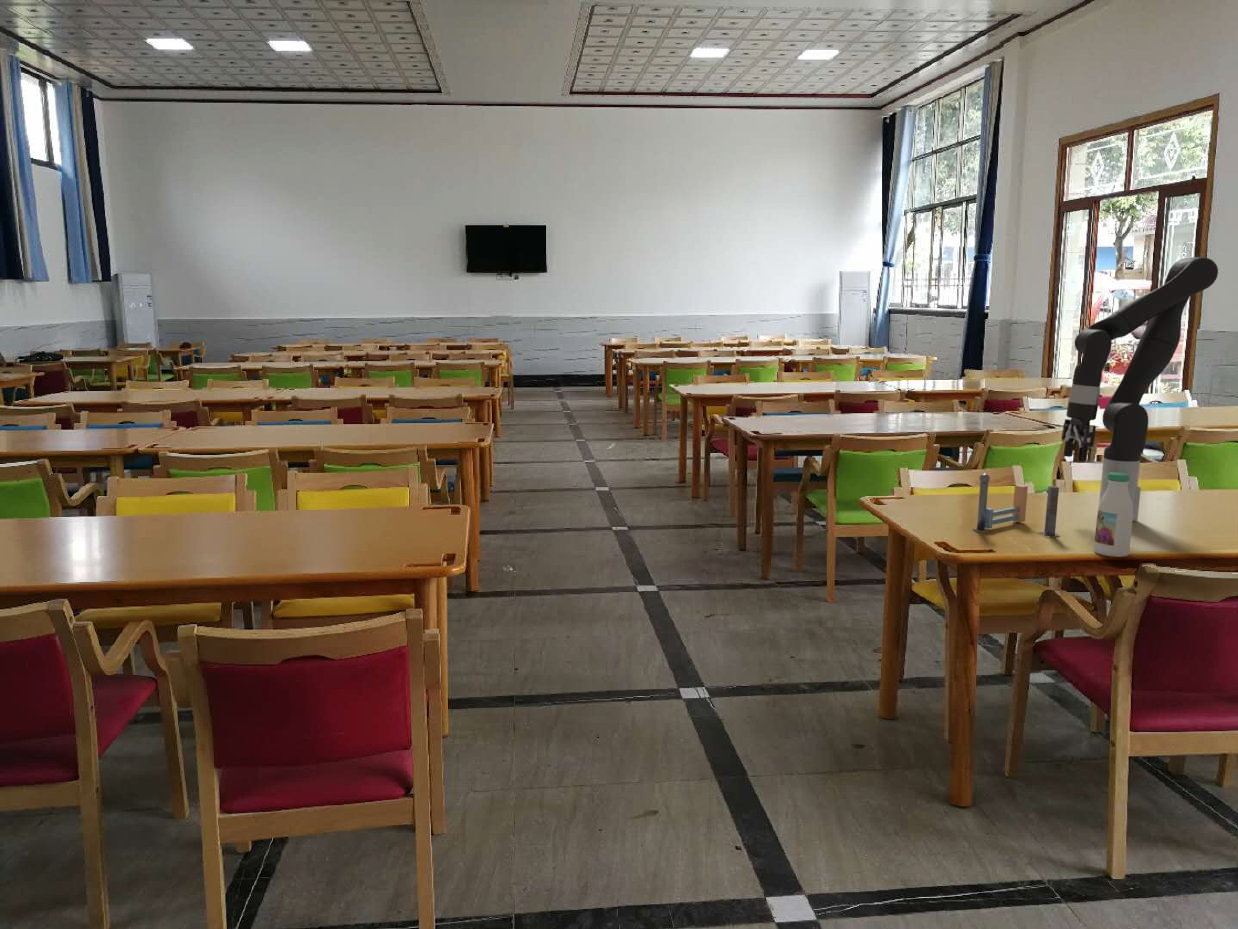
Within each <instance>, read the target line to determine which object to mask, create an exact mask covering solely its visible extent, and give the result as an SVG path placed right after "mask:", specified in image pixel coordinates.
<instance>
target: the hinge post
mask: <svg viewBox="0 0 1238 929" xmlns="http://www.w3.org/2000/svg"><path fill="white" fill-rule="evenodd" d="M978 478H979V482H980V483H979V495H978V496H979V497H978V506H977V507H978V509H977V510H978V511H977V521H976V527H974V528H972V531H973V532H975V533H981V532H987V533H989V531H990V530H989V529H988V528H985V520H986V508H988V507H987V505H988V494H989V493H988V491H989V482H990V480H991V479H990V478H991V477H990V475H989V474H987V473H982V474H980V476H979V477H978ZM981 534H982V533H981Z"/></svg>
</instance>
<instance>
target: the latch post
mask: <svg viewBox="0 0 1238 929" xmlns="http://www.w3.org/2000/svg"><path fill="white" fill-rule="evenodd" d="M1047 486H1048V488H1047V496H1046V497H1047V499H1046V513H1045V519H1044V520H1045V522H1044V531H1039V533H1038V534H1040V535H1041V534H1042V535H1041V536H1043V535H1044V536H1049V537H1048V538H1061V536H1060V534H1058V533H1057V532H1056V528H1057V527H1056V526H1057V515H1058V514H1057V513H1058V504H1059V492H1060V487H1059V486H1058V485H1047ZM1044 536H1043V537H1044Z"/></svg>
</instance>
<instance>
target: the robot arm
mask: <svg viewBox="0 0 1238 929" xmlns="http://www.w3.org/2000/svg"><path fill="white" fill-rule="evenodd" d="M1218 274H1219V268H1218V265H1217V263H1216V262H1215V261H1214V260H1213V259H1211V258H1209V257H1204V256H1203V257H1202V256H1196V257H1183V258H1180V259H1179V260H1176V261H1175V262H1174V263H1173V264H1172V265H1171V267H1170V268H1169V270H1168V273H1167V275H1166V278H1165V281H1164V284H1163V285H1161V286H1159V287H1157V288H1156V289H1153V290H1152V291H1150V292H1148V293H1146V294H1142V295H1141V296H1139V297H1137V298H1135V299H1133V300H1131V301H1129V302H1128V303H1126V304H1124V305H1123V306H1121V307H1120V308H1118V309H1117V310H1116V311H1114V312H1113V313H1111V314H1110V315H1109V316H1107V317H1105V318H1104V319H1103V318H1102V319H1101V320H1099V321H1096V322H1095V323H1093V324H1091V325H1088V326H1087V327H1086V328H1084V329H1082V330H1081V331H1080V332H1079V333H1078V334H1077V336H1076V337H1075V339H1074V347H1075V350H1077V352H1078V353H1080V354H1083V356H1082V359H1081V362H1080V363H1078V364H1077V365H1076V366H1075V368H1074V371H1073V378H1072V384H1071V388H1070V391H1069V397H1068V403H1067V409H1066V414H1065V416H1066V417H1067V419H1066V418H1065V419H1064V422H1063V427H1062V428H1063V429H1062V433H1061V440H1062V441H1063V442H1064V448H1063V449H1064V450H1063V454H1062V455H1063V456H1064V457H1072V456H1073V452H1074V446H1075V442H1076V441H1077V442H1078V452H1077V458H1076V461H1078V462H1083V463H1085V462H1087V458H1088V452H1089V449H1090V448H1093V447H1094V444H1095V437H1096V429H1097V427H1096V426H1097V425H1093V424H1092V425H1091V421H1094V420H1096V419H1097V416H1098V415H1097V414H1098V408H1099V402H1100V397H1101V396H1100V393H1101V392H1100V390H1101V384H1102V376H1103V370H1104V368H1105V367H1106V365H1107V362H1108V359H1109V356H1110V354H1111V351H1112V341H1113V340H1115V339H1119V338H1123V337H1126V336H1128V335H1129V334H1130V333H1133V332H1134V331H1135V330H1137V329H1138V328H1139V327H1141V326H1142V325H1144V324H1145V323H1147V326H1146V327H1145V329H1144V331H1143V333H1142V335H1141V337H1140V339H1139V341H1138V343H1137V346H1136V348H1135V351H1134V353H1133V355H1132V358H1131V360H1130V362H1129V364H1128V366H1127V368H1126V370H1125V372H1124V375H1123V377H1122V379H1121V381H1120V383H1119V385H1118V386H1117V388H1116V389H1115V391H1114V393H1113V394H1112V396H1111V398H1110V400H1109V402H1108V403H1107V404H1106V407H1105V408H1104V409H1103V413H1102V424H1103V426H1104V428H1105V429H1106V430H1107V431H1109V432H1112V437H1111V442H1110V444H1109V445H1108V446H1106V447H1105V448H1104V450H1103V457H1102V458H1103V460H1102V471H1101V480H1100V482H1101V483H1100V489H1099V490H1100V491H1099V501H1098V504H1099V503H1100V500H1101V498H1102V497H1103V495H1104V493H1105V492H1106V490H1107V487H1108V484H1109V482H1108V474H1109V473H1111V472H1120V473H1126V474H1129V475H1130V479H1129V483H1128V492H1129V495H1130V497H1131V500H1132V503H1133V521H1132V522H1136V521H1138V520H1139V519H1138V518H1139V509H1140V502H1141V501H1140V499H1141V490H1142V489H1141V487H1140V486H1139V476H1140V467H1141V458H1142V454H1143V453H1144V451H1145V447H1146V444H1147V443H1146V442H1147V436H1148V430H1149V414H1148V412H1147V410H1146V408H1145V407H1144V406H1142V405H1141V404H1140V403H1141V400H1142V398H1143V396H1144V394H1145V393H1146V390H1147V389H1148V388H1149V386H1150V385H1151V384H1152V383H1153V382H1154V381H1155V380H1156V379H1157V378H1158V377H1159V376H1160V375H1161V374H1162V373H1163V372H1164V371H1165V370H1166V368H1167V367H1168V366H1169V364H1170V362H1171V361H1172V359H1173V357H1174V354H1175V352H1176V350H1177V348H1178V347H1179V344H1180V340H1181V333H1182V316H1183V312H1184V310H1185V306H1186V305H1187V303H1188V301H1189V299H1190V297H1192V296H1194V295H1196V294H1199V293H1200V292H1203V291H1204V290H1206V289H1208V288H1211V286H1212V285H1214V283H1215V282H1216V281H1217V278H1218Z"/></svg>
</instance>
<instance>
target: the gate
mask: <svg viewBox="0 0 1238 929" xmlns="http://www.w3.org/2000/svg"><path fill="white" fill-rule="evenodd" d="M1028 488H1029V487H1028V485H1025V484H1017V485H1014V491H1013V492H1014V493H1013V504H1012V507H1007V508H1003V509H999V510H994V508H990V507H986V520H985V529H988V530H989V529H992V528H993V525H998V524H1002V523H1008V522H1017V523H1025V521H1026V514H1027V513H1026V511H1027V500H1028ZM1009 514H1012V515H1009ZM1005 515H1006V516H1005ZM999 516H1001V517H999Z"/></svg>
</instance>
